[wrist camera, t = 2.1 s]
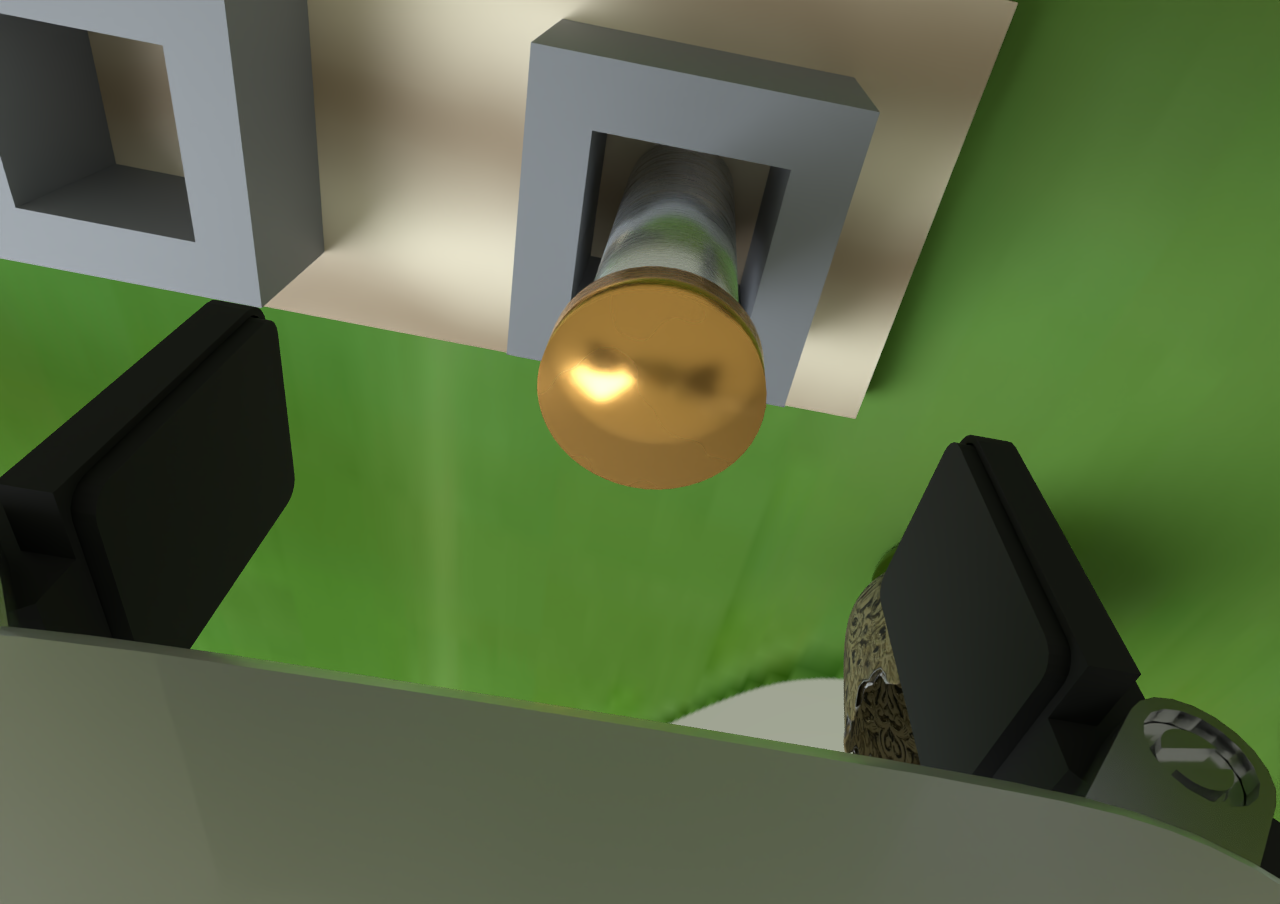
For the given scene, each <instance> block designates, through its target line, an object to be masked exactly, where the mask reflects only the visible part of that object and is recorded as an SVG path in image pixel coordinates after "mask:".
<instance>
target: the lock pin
mask: <svg viewBox="0 0 1280 904" xmlns="http://www.w3.org/2000/svg"><path fill="white" fill-rule="evenodd" d="M537 392H538V400H539V405H540V409H541V413H542V416H543V418H544V420H545V423H546V425H547V427H548V429H549V431H550V432H551V434H552V436H553V437H554V439H555V440H556V441H557V443H558V444H559V445H560V447H561V448H562V449H563V450H564V451H565V452H566V453H567V454H568V455H569V456H570V457H571V458H572V459H574V460H575V461H576V462H577V463H579V464H580V465H581V466H582V467H584V468H586V469H587V470H589V471H591V472H592V473H594V474H596V475H598V476H600V477H602V478H604V479H606V480H609V481H612V482H615V483H618V484H621V485H625V486H630V487H635V488H642V489H672V488H678V487H684V486H688V485H692V484H695V483H698V482H701V481H704V480H706V479H708V478H711V477H713V476H715V475H716V474H718V473H720V472H721V471H723V470H725V469H726V468H727V467H729V466H730V465H731V464H733V463H734V462H735V461H736V460H737V459H738V458H739V457H740V456H741V455H742V454H743V453H744V452H745V451H746V450H747V448H748V447H749V446H750V444H751V443H752V442H753V440H754V438H755V436H756V435H757V433H758V431H759V428H760V426H761V423H762V421H763V417H764V413H765V408H766V397H767V392H766V380H765V368H764V357H763V349H762V345H761V341H760V338H759V335H758V333H757V330H756V328H755V326H754V324H753V322H752V320H751V319H750V317H749V315H748V314H747V313H746V311H745V310H744V309H743V307H742V306H741V305H740V304H739V303H738V277H737V251H736V224H735V197H734V184H733V179H732V176H731V173H730V171H729V169H728V167H727V165H726V163H725V162H724V161H723V159H722V158H721V157H720V156H719V155H713V154H708V153H703V152H698V151H693V150H688V149H683V148H678V147H673V146H668V145H663V144H657V145H655V146H654V147H652V148H650V149H649V150H648V151H646V152H645V153H644V154H643V155H642V156H641V157H640V158H639V160H638V161H637V162H636V164H635V165H634V167H633V169H632V171H631V174H630V176H629V179H628V182H627V185H626V188H625V191H624V194H623V197H622V200H621V203H620V206H619V209H618V212H617V215H616V218H615V221H614V224H613V227H612V230H611V233H610V236H609V239H608V241H607V244H606V247H605V250H604V253H603V256H602V259H601V262H600V265H599V268H598V271H597V274H596V277H595V280H594V282H593V283H591V284H589V285H588V286H587V287H585V288H584V289H583V290H581V291H580V292H579V293H578V294H577V295H576V296H575V297H574V298H573V299H572V300H571V301H570V302H569V303H568V304H567V306H566V307H565V309H564V310H563V311H562V313H561V314H560V316H559V318H558V320H557V322H556V324H555V326H554V329H553V331H552V334H551V336H550V339H549V341H548V344H547V346H546V349H545V351H544V354H543V357H542V360H541V363H540V367H539V372H538V382H537Z"/></svg>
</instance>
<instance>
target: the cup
mask: <svg viewBox="0 0 1280 904" xmlns="http://www.w3.org/2000/svg"><path fill="white" fill-rule="evenodd" d="M897 548H898V546H897V547H895V548H893V549H892V550H890V551H889V552H887V553H886V554H885V555H884V556H883V557H882V558H881V560H880V561H879V562H878V564H877V566H876V568H875V571H874V574H873V577H872V582H871V583H870V584H869V585H868V586H867V587H866V588H865V590H864V591H863V592H862V593H861V595H860V596H859V597H858V599H857V601H856V603H855V604H854V607H853V609H852V611H851V614H850V617H849V620H848V624H847V629H846V635H845V646H844V717H845V719H844V720H845V733H844V749H845V753H851V752H853V754H857V755H863V756H869V757H875V758H881V759H888V760H893V761H899V762H904V763H910V764H915V765H920V761H919V757H918V752H917V748H916V744H915V740H914V736H913V732H912V728H911V724H910V720H909V716H908V712H907V708H906V704H905V700H904V695H903V691H902V687H901V683H900V679H899V675H898V671H897V667H896V663H895V659H894V655H893V651H892V647H891V643H890V638H889V634H888V630H887V626H886V622H885V618H884V614H883V610H882V606H881V601H880V588H881V583H882V579H883V576H884V574H885V572H886V570H887V568H888V566H889V564H890V562H891V560H892V558H893V556H894V554H895V552H896V550H897Z"/></svg>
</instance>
